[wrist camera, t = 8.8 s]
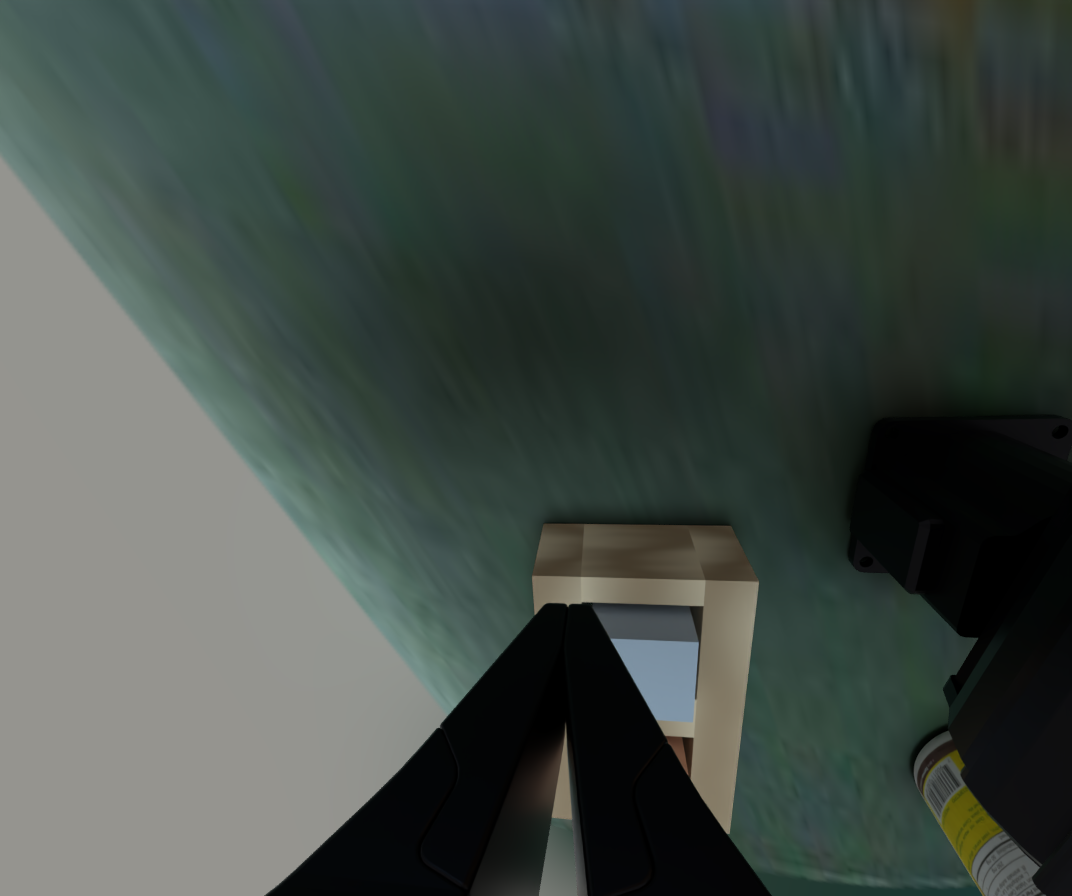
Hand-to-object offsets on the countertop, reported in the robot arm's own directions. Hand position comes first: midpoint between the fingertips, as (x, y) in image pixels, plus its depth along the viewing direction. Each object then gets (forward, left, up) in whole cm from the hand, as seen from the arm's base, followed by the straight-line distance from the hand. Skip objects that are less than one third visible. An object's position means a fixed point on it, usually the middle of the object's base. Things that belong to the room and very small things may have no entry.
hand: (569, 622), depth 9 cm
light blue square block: (-2, +8, -9) cm, 12 cm away
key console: (-2, +11, -12) cm, 16 cm away
